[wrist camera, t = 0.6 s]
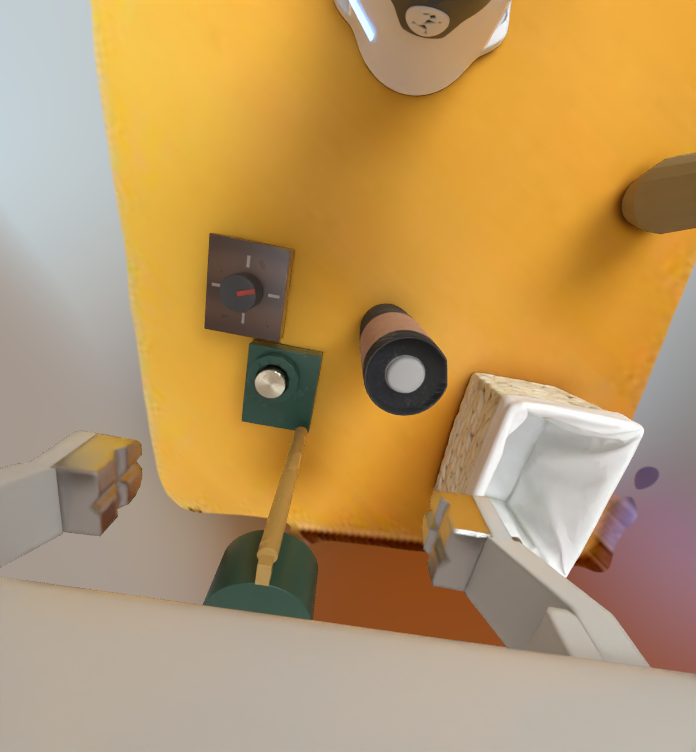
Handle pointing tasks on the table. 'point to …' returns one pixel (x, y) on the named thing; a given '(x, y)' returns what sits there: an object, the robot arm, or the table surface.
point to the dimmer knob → (240, 292)
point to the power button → (271, 382)
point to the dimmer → (267, 267)
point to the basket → (538, 461)
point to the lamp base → (300, 388)
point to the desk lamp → (270, 559)
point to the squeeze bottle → (663, 196)
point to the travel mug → (400, 362)
